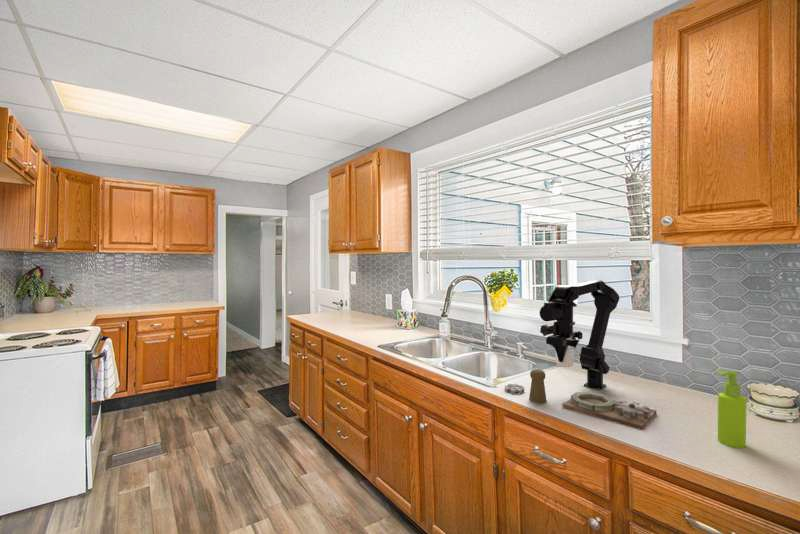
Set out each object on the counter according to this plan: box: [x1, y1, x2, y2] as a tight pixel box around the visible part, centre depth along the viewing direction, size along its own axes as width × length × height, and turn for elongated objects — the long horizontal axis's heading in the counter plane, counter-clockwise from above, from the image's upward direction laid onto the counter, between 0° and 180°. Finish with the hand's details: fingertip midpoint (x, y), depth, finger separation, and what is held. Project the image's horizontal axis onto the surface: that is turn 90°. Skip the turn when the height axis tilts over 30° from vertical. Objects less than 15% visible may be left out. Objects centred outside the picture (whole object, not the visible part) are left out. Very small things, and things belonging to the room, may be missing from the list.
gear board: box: [562, 391, 657, 431], centre depth 127 cm, size 16×24×4 cm, turn 43°
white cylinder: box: [554, 345, 576, 368], centre depth 143 cm, size 7×7×7 cm
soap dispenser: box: [716, 369, 747, 449], centre depth 105 cm, size 6×7×20 cm
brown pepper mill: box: [528, 369, 548, 404], centre depth 137 cm, size 6×6×11 cm
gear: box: [504, 383, 525, 394], centre depth 147 cm, size 7×7×2 cm
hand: (564, 360), depth 143 cm, fingers closed on white cylinder, 6 cm apart
